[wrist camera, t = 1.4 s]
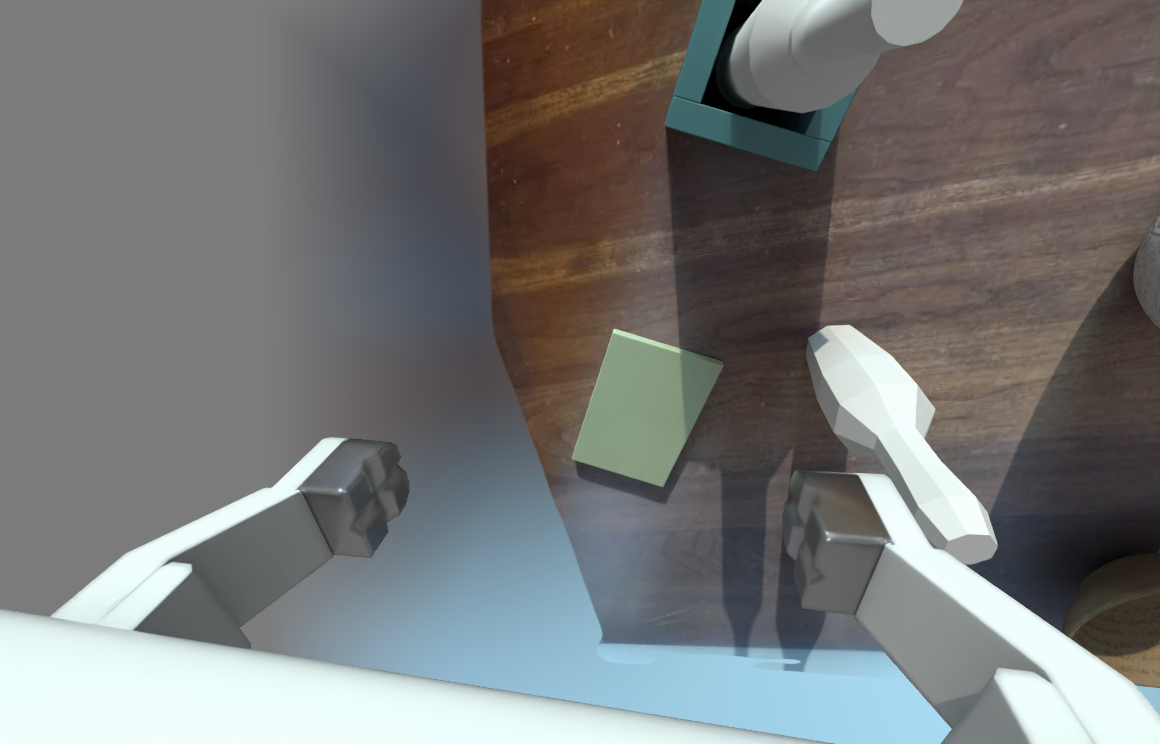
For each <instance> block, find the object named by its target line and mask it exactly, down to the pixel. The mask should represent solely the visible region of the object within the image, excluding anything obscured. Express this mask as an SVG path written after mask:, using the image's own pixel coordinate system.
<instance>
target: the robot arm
mask: <svg viewBox="0 0 1160 744" xmlns="http://www.w3.org/2000/svg"><path fill="white" fill-rule="evenodd" d="M400 458H401V455H400V453H399V450H398V447H397V445H396V444H393V443H391V442H382V441H372V440H361V439H346V438H335V437H329V438H326V439H323V440H321V441H320V442H319V443H318V444H317V445H316V446H315V447H314V448H313V449H312V450H311V451H310V452H309V453H308V454H307V455H306V456H305V457H304V458H303V459H302V460H300V461H299V462H298V463H297V464H296V465H295V466H294V467H293V468H292V469H291V470H290V471H289V472H288V473H287V474H286V475H285V476H284V477H283V478H282V479H281V480H280V481H279V482H278V483H277V484H275V485H274V486H273V487H272V488H263V489H261V490H259V491H257V492H255V493H253V494H251V495H249V496H246V497H244V498H242V499H240V500H238V501H236V502H234V503H232V504H230V505H227V506H225V507H223V508H221V509H219V510H217V511H215V512H213V513H210V514H208V515H206V516H204V517H202V518H200V519H198V520H196V521H194V522H191V523H189V524H187V525H185V526H183V527H181V528H179V529H177V530H175V531H173V532H170V533H168V534H166V535H164V536H162V537H160V538H158V539H155V540H153V541H151V542H149V543H147V544H145V545H143V546H141V547H139V548H136V549H135V550H132V551H130V552H128V553H126V554H125V555H123V556H122V557H121V558H120V559H119V560H117V561H116V562H115V563H114V564H113V565H111V566H110V567H109V568H108V569H107V570H106V571H104V572H103V573H102V574H100V575H99V576H98V577H97V578H96V579H94V580H93V581H92V582H91V583H90V584H88V585H87V586H86V587H85V588H84V589H82V590H81V591H80V592H79V593H78V594H76V595H75V596H74V597H73V598H72V599H70V600H69V601H68V602H67V603H66V604H64V605H63V606H62V607H61V608H59V609H58V610H57V611H56V612H55V613H53V614H52V615H51V616H50V617H46V616H40V615H34V614H27V613H21V612H15V611H9V610H3V609H0V744H832V743H826V742H820V741H814V740H808V739H802V738H795V737H789V736H783V735H777V734H771V733H765V732H758V731H752V730H746V729H740V728H734V727H727V726H721V725H714V724H709V723H703V722H697V721H691V720H684V719H678V718H672V717H666V716H660V715H653V714H647V713H641V712H635V711H629V710H622V709H616V708H610V707H604V706H598V705H592V704H586V703H580V702H573V701H567V700H561V699H555V698H548V697H542V696H536V695H530V694H524V693H518V692H512V691H505V690H499V689H493V688H486V687H480V686H474V685H468V684H462V683H456V682H449V681H443V680H437V679H430V678H424V677H418V676H412V675H406V674H400V673H393V672H387V671H380V670H375V669H368V668H362V667H356V666H350V665H343V664H337V663H331V662H325V661H319V660H312V659H306V658H300V657H294V656H287V655H281V654H275V653H269V652H262V651H257V650H251V643H250V641H249V640H248V639H247V637H246V636H245V635H244V634H243V632H242V631H241V629H240V627H241V626H243V625H244V624H245V623H247V622H248V621H249V620H251V619H252V618H253V617H255V616H256V615H257V614H258V613H260V612H261V611H263V610H264V609H265V608H267V607H268V606H269V605H271V604H272V603H273V602H274V601H276V600H277V599H278V598H280V597H281V596H282V595H284V594H285V593H286V592H288V591H289V590H290V589H292V588H293V587H294V586H296V585H297V584H298V583H300V582H301V581H302V580H304V579H305V578H306V577H308V576H309V575H310V574H312V573H313V572H314V571H316V570H317V569H318V568H320V567H321V566H322V565H323V564H325V563H326V562H328V561H329V560H330V559H331V558H333V555H342V556H354V557H366V558H371V557H372V556H373V554H374V553H375V551H376V550H377V548H378V546H379V545H380V543H381V542H382V540H383V539H384V537H385V536H386V534H387V533H388V527H387V522H389V521H391V520H392V519H394V518H395V517H397V516H399V514H400V513H401V511H402V510H403V508H404V506H405V504H406V502H407V497H408V494H409V480H408V476H407V473H406V472H405V471H404V470H403V469H402V468H401V467H400V466H399V465H398V464H397V463H398V462H399V460H400ZM789 486H790V489H791V493H792V496H793V497H792V498H791V499H789V500H788V501H787V502H785V506H784V511H783V517H782V532H783V539H784V544H785V548H786V552H787V554H788V555H789V556H791V557H792V558H793V559H794V560H795V561H796V563H795V567H794V570H793V578H794V581H795V585H796V589H797V592H798V596H799V600H800V603H801V607H802V608H805V609H812V610H819V611H826V612H833V613H840V614H847V615H854V616H855V617H854V618H855V619H856V620H857V622H858V623H859V624H860V625H861V626H862V627H863V628H864V630H865V631H866V632H867V633H868V634H869V635H870V636H871V638H872V639H873V640H874V641H875V642H876V643H877V644H878V645H879V647H880V648H881V649H882V650H883V651H884V652H885V653H886V655H887V656H888V657H889V658H890V659H891V660H892V661H893V662H894V664H895V665H896V666H897V667H898V668H899V669H900V670H901V672H902V673H903V674H904V675H905V676H906V677H907V678H908V680H909V681H910V682H911V683H912V684H913V685H914V686H915V687H916V689H917V690H918V691H919V692H920V693H921V694H922V695H923V697H924V698H925V699H926V700H927V701H928V702H929V703H930V704H931V706H932V707H933V708H934V709H935V710H936V711H937V712H938V714H939V715H940V716H941V717H942V718H943V719H944V720H945V722H946V723H947V724H948V725H949V726H950V727H951V728H952V730H951V731H950V732H949V734H948V735H947V736H946V738H945V739H944V740H943V742H942V743H941V744H1160V716H1159V714H1158V713H1157V712H1156V710H1155V709H1154V708H1153V707H1152V706H1151V704H1150V703H1149V702H1148V701H1147V700H1146V698H1145V697H1144V696H1143V694H1142V693H1141V692H1140V691H1139V689H1138V688H1137V687H1136V686H1135V684H1134V683H1133V682H1131V681H1130V680H1129V679H1127V678H1126V677H1124V676H1123V675H1121V674H1120V673H1119V672H1117V671H1116V670H1114V669H1113V668H1111V667H1110V666H1109V665H1107V664H1106V663H1104V662H1103V661H1101V660H1100V659H1099V658H1097V657H1096V656H1094V655H1093V654H1091V653H1090V652H1089V651H1087V650H1086V649H1084V648H1083V647H1081V646H1080V645H1079V644H1077V643H1076V642H1074V641H1073V640H1071V639H1070V638H1069V637H1067V636H1066V635H1064V634H1063V633H1061V632H1060V631H1059V630H1057V629H1056V628H1054V627H1053V626H1051V625H1050V624H1049V623H1047V622H1046V621H1044V620H1043V619H1041V618H1040V617H1039V616H1037V615H1036V614H1034V613H1033V612H1031V611H1030V610H1029V609H1027V608H1026V607H1024V606H1023V605H1021V604H1020V603H1019V602H1017V601H1016V600H1014V599H1013V598H1011V597H1010V596H1009V595H1007V594H1006V593H1004V592H1003V591H1001V590H1000V589H999V588H997V587H996V586H994V585H993V584H991V583H990V582H989V581H987V580H986V579H984V578H983V577H981V576H980V575H979V574H977V573H976V572H974V571H973V570H971V569H970V568H969V567H967V566H966V565H964V564H963V563H961V562H960V561H959V560H957V559H956V558H954V557H953V556H951V555H950V554H949V553H947V552H946V551H944V550H941V549H933V548H932V546H931V545H930V543H929V541H928V540H927V538H926V536H925V535H924V533H923V532H922V530H921V528H920V527H919V525H918V523H917V522H916V520H915V518H914V517H913V515H912V514H911V512H910V510H909V509H908V507H907V505H906V504H905V502H904V500H903V499H902V497H901V496H900V494H899V492H898V491H897V489H896V487H895V486H894V484H893V482H892V481H891V479H890V478H889V477H887V476H886V475H884V474H865V473H853V474H852V473H839V472H822V471H806V470H795V471H794V473H793V474H792V477H791V481H790V485H789Z"/></svg>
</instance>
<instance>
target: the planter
mask: <svg viewBox="0 0 1160 744" xmlns="http://www.w3.org/2000/svg"><path fill="white" fill-rule="evenodd" d="M1133 282H1134V289H1135V292H1136V295H1137V298H1138V300H1139V302H1140V304H1141V306H1142V308H1143V310H1144V311H1145V313H1146V314H1147V315H1148V317H1149V318H1150V319H1151V320H1152V321H1153V323H1154V324H1155V325H1156V326H1157V327H1158V328H1159V329H1160V214H1159V215H1158V217H1157V218H1156V219H1155V221H1154V222H1153V223H1152V225H1151V226H1150V228H1149V230H1148V231H1147V233H1146V235H1145V237H1144V238H1143V240H1142V243H1141V245H1140V247H1139V249H1138V253H1137V256H1136V260H1135V265H1134V272H1133Z"/></svg>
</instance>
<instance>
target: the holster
mask: <svg viewBox="0 0 1160 744" xmlns="http://www.w3.org/2000/svg"><path fill="white" fill-rule="evenodd" d="M735 1H736V2H739V3H743V4H746V5H750V6H753V7H756V8H757V7H758V5H759V4H760V3H761V2H762V0H702V2H701V6H700V9H699V12H698V15H697V18H696V22H695V25H694V28H693V31H692V35H691V38H690V41H689V44H688V48H687V51H686V54H685V57H684V61H683V64H682V67H681V70H680V74H679V77H678V80H677V83H676V87H675V90H674V93H673V96H672V97H673V98H672V100H671V103H670V106H669V109H668V113H667V116H666V119H665V127H668V128H671V129H674V130H678V131H681V132H684V133H688V134H691V135H695V136H698V137H701V138H705V139H708V140H711V141H715V142H718V143H721V144H725V145H728V146H731V147H735V148H738V149H741V150H745V151H748V152H752V153H755V154H758V155H762V156H765V157H768V158H772V159H775V160H778V161H782V162H785V163H788V164H792V165H795V166H799V167H802V168H805V169H809V170H812V171H815V172H816V171H817V170H818V168H819V166H820V164H821V162H822V160H823V158H824V156H825V154H826V152H827V150H828V148H829V146H830V144H831V143H830V142H832V140H833V138H834V136H835V134H836V132H837V130H838V128H839V126H840V124H841V122H842V120H843V118H844V116H845V114H846V112H847V110H848V108H849V106H850V104H851V102H852V100H853V98H854V96H855V94H856V92H857V90H858V88H859V86H860V85H859V86H858V87H857V88H856V89H855V90H854V91H853V92H852V93H850V94H849V95H847V96H846V97H844V98H842V99H841V100H839V101H838V102H836V103H835V104H833V105H831V106H830V107H828V108H823V109H819V110H814V111H810V112H805V113H798V112H792V111H786V110H781V111H780V113H779V115H778V118H777V120H776V122H775V125H770V124H767V123H763V122H760V121H757V120H753V119H750V118H747V117H743V116H740V115H737V114H733V113H730V112H726V111H723V110H720V109H716V108H713V107H710V106H706V105H703V104H700V103H701V101H702V98H703V95H704V92H705V89H706V86H707V83H708V80H709V77H710V74H711V72H712V69H713V66H714V63H715V60H716V57H717V54H718V51H719V48H720V45H721V42H722V39H723V36H724V33H725V30H726V27H727V24H728V22H729V19H730V16H731V13H732V10H733V7H734V4H735ZM860 84H861V83H860Z"/></svg>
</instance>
